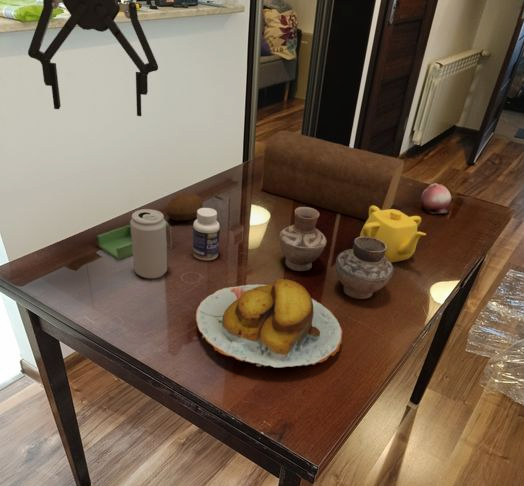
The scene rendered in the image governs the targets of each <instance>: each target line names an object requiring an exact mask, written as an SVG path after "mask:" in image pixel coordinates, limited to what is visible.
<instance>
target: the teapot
mask: <svg viewBox="0 0 524 486" xmlns="http://www.w3.org/2000/svg"><path fill="white" fill-rule="evenodd" d="M421 223H422V217H421V216H419V215H411V216H409V215H407V214H405V213H404V212H402V211H400V210H398V209H394V208H390V209H387V210H380V209H379V208H378V207H376V206H370V208H369V218H368V220H365V223H364V224H363V227H362V229H361V231H360V234H359V237H372V238H376V239H379V240H381V241H383V242H384V243H385V244H386V246H387V249H386V252H385V255H384V257H386V258H387V259H388V260H389V261H390V262H391V263H395V262H397V263H398V262H401V261H405V260H408V259H410V258H411V257H412V256H413V255H414V253H415V252H416V248H417V244H418V242H419V240H420V238H421V237H423V236H427V233H425V232H424V231H423V232H422V231H418V227H419V226H420V225H421Z"/></svg>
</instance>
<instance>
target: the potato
mask: <svg viewBox="0 0 524 486" xmlns="http://www.w3.org/2000/svg"><path fill="white" fill-rule="evenodd" d="M200 208H204V202H203V200H202V198H201V197H200V196H199V195H198V194H196V193H189V192H180V193H178V194H176V195H175V196H173V197H172V198H171V199H170V200H169V202H168V203H167V207H166V213H167V216H168V217H169V218H170V219H171V220H174V221H177V222H183V221H184V222H185V221H186V222H187V221H191V220H195V219H197V210H198V209H200Z"/></svg>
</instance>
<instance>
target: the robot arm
mask: <svg viewBox="0 0 524 486" xmlns="http://www.w3.org/2000/svg"><path fill="white" fill-rule="evenodd" d="M42 3H43V4H42V5H43V6H42V10H41V13H40V16H39V19H38V21H37V24H36V28H35V30H34V33H33V36H32V39H31V41H30V45H29V47H28V50H27V55H28V57H30V58H31V59H35V60H36V61H38V62H40V64H41V68H42V77H43V83H44V85H45V86H47V87H48V86H49V87H51V94H52V99H53V100H52V102H53V110H60V108H61V97H60V89H59V79H58V78H59V77H58V70H57V69H58V68H57V63H56V62H52V61H51V60H53V57H54V56H55V55H56V53H57V52H58V51H59V50H60V48H61V46H62V45H63V44H64V43H65V41H66V40H67V38H68V37H69V35H70V34H71V33H72V32H73V30H74V29H75V28H76V26H78V27H79V28H80V29H82V30H87V31H91V30H94V31H97V32H101V33H104V32H106V31H108V30H109V31H110V33H111V34H112V35H113V37H114V38H115V40H117V43H119V45H120V46H121V47H122V48H123V50H124V52H125V53H126V54H127V56H128V57H129V58H130V60H131V61H132V62H133V64H134V65H135V66H136V68H137V69H138V71H135V94H136V95H135V96H136V97H135V99H136V117H142V95H144V96H147V95H148V91H149V89H148V88H149V87H148V86H149V85H148V75H149V74H150V73H152V72H157V71H158V70H159V65H158V61H157V60H156V58H155V55H154V53H153V51H152V48H151V46H150V43H149V41H148V38H147V36H146V34H145V32H144V29H143V27H142V25H141V22H140V20H139V15H138V7H137V4H136V2H135V1H129V2H119V0H42ZM61 3H62V4H63V6H64V7H65V9H66V10H67V12H68V13H69V14H70V16H69V17H68V19H67V20H66V22H65V23H64V24H63V26H62V27H61V29H60V30H59V32H58V33H57V34H56V35H55V37H54V38H53V39H52V40H51V43H50V44H49V45H48V46H47V48H46V49H45V50H44V52H43V51H42V50H41V47H42V44H43V42H44V39H45V36H46V33H47V31H48V28H49V24H50V22H51V19H52V16H53V14H54V13H53V12H54V10H57V9H58V8H59V7H60V4H61ZM120 11H121V12H122V13H123V15H124V17H125V18H126V19H130V22H131V26H132V27H133V30H134V32H135V34H136V37H137V39H138V41H139V43H140V47H141V49H142V50H143V53H144V55H145V57H146V60H147V62H146V63H145V62H144V61H143V59H142V58H141V57H140V56H139V54H138V52H137V51H136V49H135V48H134V46H132V44H131V42H129V40H128V39H127V37H126V36H125V33H123V32H122V30H121V29H120V27H119V26H118V24H117V23H116V21H115V19H116V18H117V16H118V14H119V13H120Z"/></svg>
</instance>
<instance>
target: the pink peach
mask: <svg viewBox="0 0 524 486" xmlns="http://www.w3.org/2000/svg"><path fill="white" fill-rule="evenodd" d="M451 201H452V195H451V193H450V191H449V190H448V188H447V187H446V186H445V185H444V184H439V183H436V182H433V183H431V184H429V185H428V187H426V188H425V189H424V190H423V192H422V194H421V198H420V204H421V207H422V208H423V209H424V211H425V212H427V213H429V214H432V215H435V214H436V215H437V214H446V213H448V208H447V207H448V206H449V205H450V204H451Z"/></svg>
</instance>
